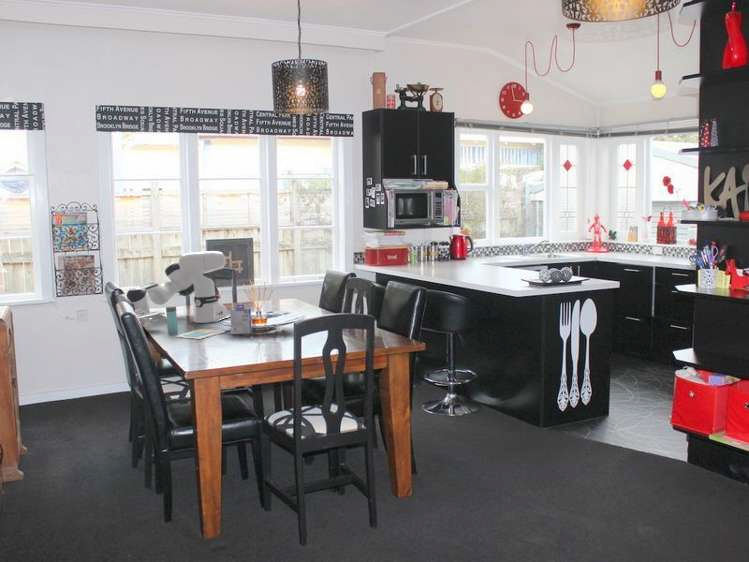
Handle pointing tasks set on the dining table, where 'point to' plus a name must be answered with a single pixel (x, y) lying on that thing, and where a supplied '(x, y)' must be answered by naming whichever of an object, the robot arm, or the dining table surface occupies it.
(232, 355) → the dining table surface
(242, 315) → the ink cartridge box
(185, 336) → the picture board
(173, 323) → the teal canister
